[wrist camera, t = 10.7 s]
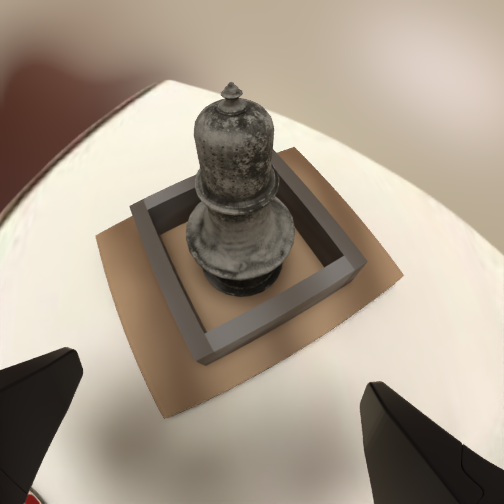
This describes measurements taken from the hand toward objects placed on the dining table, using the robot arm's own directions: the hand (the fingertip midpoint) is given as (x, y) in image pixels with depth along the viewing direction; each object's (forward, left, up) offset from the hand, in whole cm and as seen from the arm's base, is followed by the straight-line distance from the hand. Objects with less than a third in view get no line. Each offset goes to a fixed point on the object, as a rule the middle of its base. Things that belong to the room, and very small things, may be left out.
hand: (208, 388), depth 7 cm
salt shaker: (+4, +7, -8) cm, 12 cm away
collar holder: (+4, +7, -10) cm, 13 cm away
